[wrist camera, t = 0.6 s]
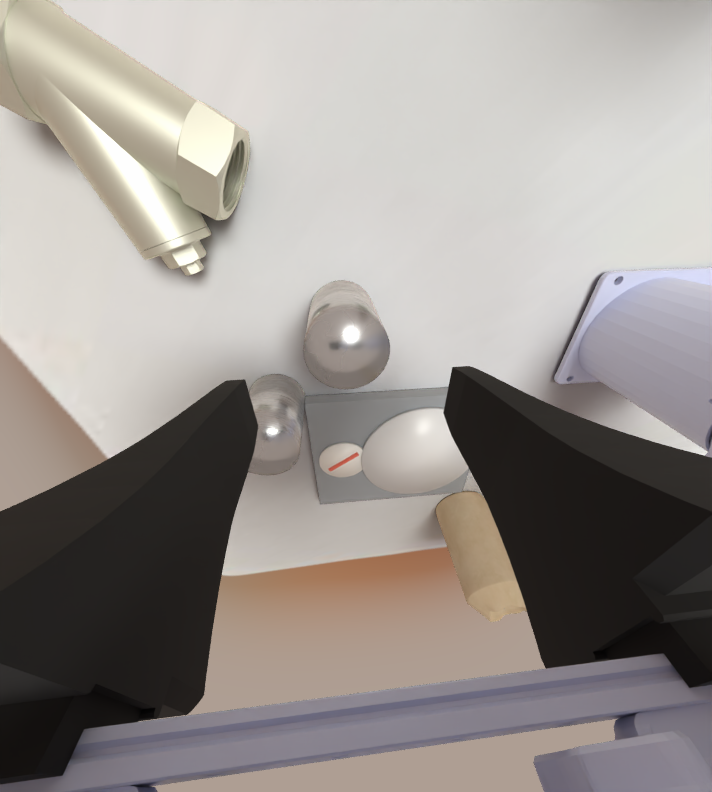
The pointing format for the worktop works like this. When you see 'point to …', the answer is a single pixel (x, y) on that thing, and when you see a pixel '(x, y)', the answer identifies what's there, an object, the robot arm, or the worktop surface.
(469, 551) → the candle
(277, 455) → the cylinder
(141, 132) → the pipe fitting
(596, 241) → the worktop surface
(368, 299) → the cylinder
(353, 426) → the scale
